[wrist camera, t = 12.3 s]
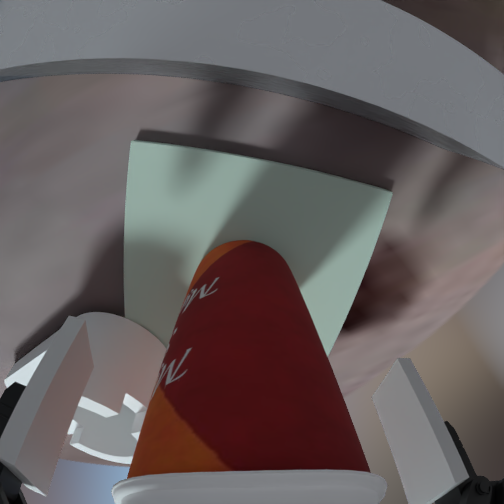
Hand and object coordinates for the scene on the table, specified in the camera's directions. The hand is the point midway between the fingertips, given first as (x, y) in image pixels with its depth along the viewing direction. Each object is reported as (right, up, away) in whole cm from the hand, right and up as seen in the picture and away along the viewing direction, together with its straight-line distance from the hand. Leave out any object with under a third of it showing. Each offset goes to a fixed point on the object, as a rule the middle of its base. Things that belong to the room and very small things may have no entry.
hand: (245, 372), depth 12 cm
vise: (-5, +22, -3) cm, 23 cm away
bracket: (-14, -6, +10) cm, 18 cm away
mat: (0, +3, +7) cm, 7 cm away
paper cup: (0, +3, +6) cm, 7 cm away
